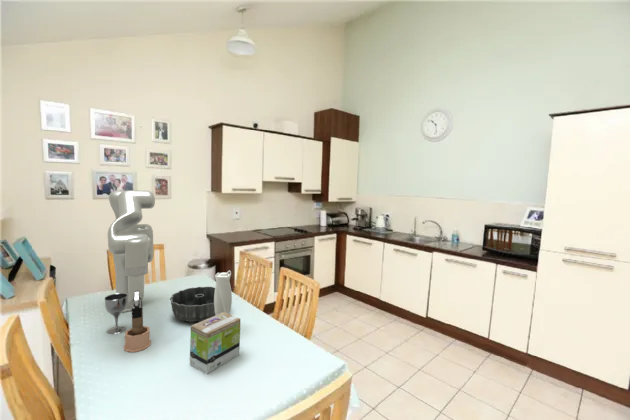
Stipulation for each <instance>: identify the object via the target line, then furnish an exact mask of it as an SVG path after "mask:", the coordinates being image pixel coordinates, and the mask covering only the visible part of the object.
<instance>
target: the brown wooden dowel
mask: <svg viewBox="0 0 630 420" xmlns="http://www.w3.org/2000/svg"><path fill="white" fill-rule="evenodd" d="M143 311H144V308H143V307H142V317H140V318H133V319H132V318H131V328H132V336H135V335H140V334H143V326H144V312H143Z"/></svg>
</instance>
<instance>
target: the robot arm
mask: <svg viewBox="0 0 630 420" xmlns="http://www.w3.org/2000/svg"><path fill="white" fill-rule="evenodd" d="M108 199H109V200H108V201H109V204H110V207H111V209H112V211H113V213H114V216H115V220H113V221H112V223H111V224H110V226H109V227H108V230H107V246H108V250H109V253H111V254H112V257H113V264H114V270H115V294H117V293H125V294H127V304H126V307H125V309H124V310H123V311H122V313H128V312H131V320H132V319H133V318H140V317H142V308H143V300H144V294H145V293H144V292H145V275H148V273H149V264H148V263H151V262H153V260H154V253H155V252H154V231H153V230H154V229H153V227H152V226H151V225H150V224H148V223H147V224H146V223H144V224H143V223H141V221H142V220H143V212H142V209H150V210H151V209H153V208H154V207H155V204H156V197H155V195H154V193H153V192H152V191H150V190H133V189H132V190H130V189H129V190H115V191H111V192H110V193H109V196H108ZM140 223H141V224H140Z"/></svg>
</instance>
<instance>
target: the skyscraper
mask: <svg viewBox="0 0 630 420" xmlns="http://www.w3.org/2000/svg"><path fill="white" fill-rule="evenodd" d="M214 275H215V276H214V279H215V286H214V288H215V293H214V308H215V315H218V314H220V313H223V312H225V313H227V314H230V315H231V310H232V304H233V303H232V301H233V294H232V288H231V283H230V279H231V277H232V271H231V270H228V271H227V272H217V273H216V274H214Z"/></svg>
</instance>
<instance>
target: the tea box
mask: <svg viewBox="0 0 630 420" xmlns="http://www.w3.org/2000/svg"><path fill="white" fill-rule="evenodd" d="M189 341H190V342H189V344H190V345H189V346H190V347H189V365H190V366H192V367H193V368H195V369H197V370H199V371H200V372H203V373H204V374H206V375H207V374H209V373H211V372H212V371H214V370H215V369H218V368H219V367H221V366H222V365H224V364H225V363H227V362H230V360H233V359H234V358H236V357H238V356H239V355H240V345H241V344H240V343H241V342H240V341H241V318H239V317H237V316H235V315H232V314H231V313H230V314H227V313H225V312H223V313H220V314H218V315H215V316H213V317H211V318H208V319H206V320H202V321H201V322H199V321H198V322H197V323H194V324H191V325H190V339H189Z"/></svg>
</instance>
